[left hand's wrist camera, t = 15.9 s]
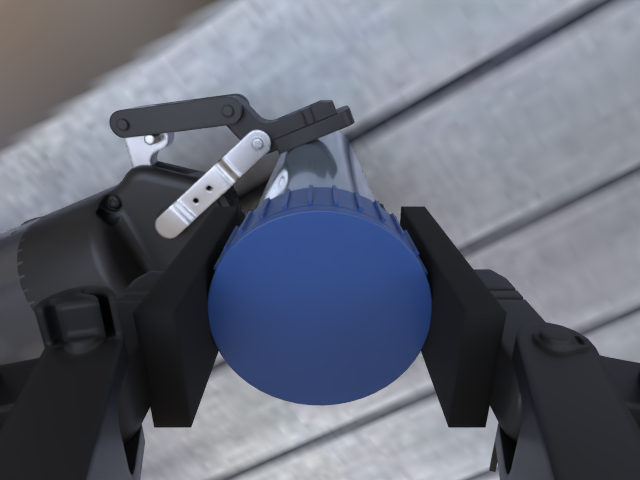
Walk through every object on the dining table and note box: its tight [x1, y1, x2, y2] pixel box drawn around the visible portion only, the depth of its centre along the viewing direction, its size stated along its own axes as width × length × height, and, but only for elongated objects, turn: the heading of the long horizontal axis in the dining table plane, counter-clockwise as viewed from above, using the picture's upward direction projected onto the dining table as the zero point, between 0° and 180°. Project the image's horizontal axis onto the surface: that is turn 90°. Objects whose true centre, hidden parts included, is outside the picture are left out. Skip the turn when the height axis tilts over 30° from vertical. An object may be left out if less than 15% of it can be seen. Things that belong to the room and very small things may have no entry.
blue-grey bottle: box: [256, 130, 375, 209], centre depth 19 cm, size 5×5×18 cm
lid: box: [208, 185, 432, 405], centre depth 11 cm, size 6×6×2 cm
